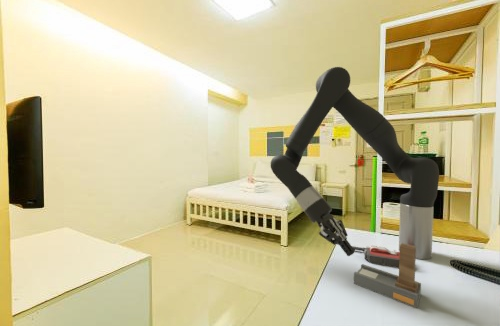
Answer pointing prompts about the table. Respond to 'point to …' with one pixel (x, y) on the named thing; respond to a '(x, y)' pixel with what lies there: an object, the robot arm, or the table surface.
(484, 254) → the table surface
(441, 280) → the table surface
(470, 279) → the table surface
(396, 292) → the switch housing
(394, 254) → the walkie-talkie
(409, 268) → the brown wooden block
